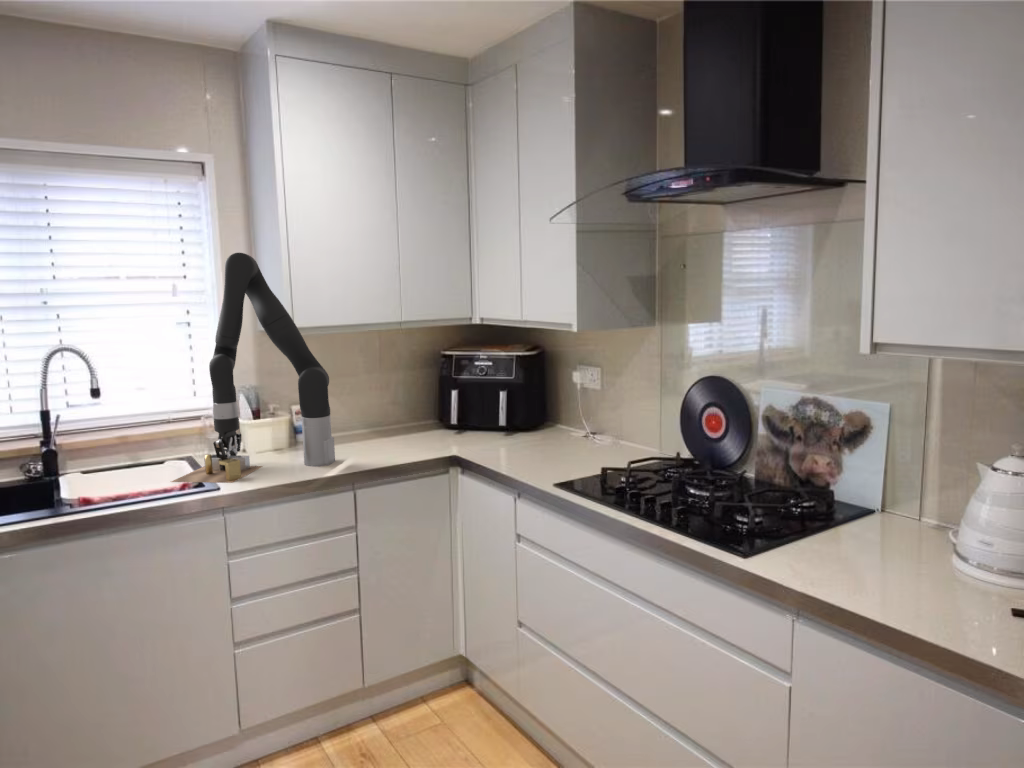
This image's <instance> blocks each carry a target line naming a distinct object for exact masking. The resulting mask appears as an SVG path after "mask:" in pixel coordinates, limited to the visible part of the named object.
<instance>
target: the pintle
mask: <svg viewBox="0 0 1024 768" xmlns="http://www.w3.org/2000/svg"><path fill="white" fill-rule="evenodd" d="M212 455H213V454H210V453H209V454H205V455H204V458H205V462H204V466H205V467H206V474H213V468H212Z"/></svg>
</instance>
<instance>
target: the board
mask: <svg viewBox="0 0 1024 768" xmlns="http://www.w3.org/2000/svg"><path fill="white" fill-rule="evenodd" d="M263 467H264V465H250V468H248V469H246V470H241V478H239V479H235V480H231V481H228V480H226V470H220V471H216V470H213V474H206V470H205V465H204V466H202V467H200V468H198V469H197V468H196V469H195V470H193V471H190V472H188V473H186V474H184V475H182V476H180V477H178V478H176V479H173V480H171V481H170V482H171V483H209V484H210V483H211V484H213V483H217V484H218V483H222V484H226V483H227V484H228V483H230V484H231V483H232V484H233V483H235V482H237V481H239V480H240V479H243V478H244V477H246V476H248V475H250V474H252V473H253V472H255V471H257V470H259V469H261V468H263Z"/></svg>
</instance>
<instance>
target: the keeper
mask: <svg viewBox="0 0 1024 768" xmlns="http://www.w3.org/2000/svg"><path fill="white" fill-rule="evenodd" d="M219 464H221V465H225V469H226V480H228V481H231V480H235V479H239V478H240V479H242V478H241V470H240V460H237V459H232V458H230V459H226V460H222V461H219ZM240 479H239V480H240Z"/></svg>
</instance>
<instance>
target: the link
mask: <svg viewBox="0 0 1024 768" xmlns="http://www.w3.org/2000/svg"><path fill="white" fill-rule="evenodd" d="M211 455H212V468H213V470H216V471H220V470H223V469H222V465H221V464H219V461H222V459H221V458H217V455H216V454H211ZM230 458H232V459H237V460H240V470H246V469H248V468H250V466H251V463H250V462H251V461H250V455H238V454H237V455H229V459H230ZM204 463H205V457H204ZM205 470H206V467H205Z"/></svg>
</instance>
